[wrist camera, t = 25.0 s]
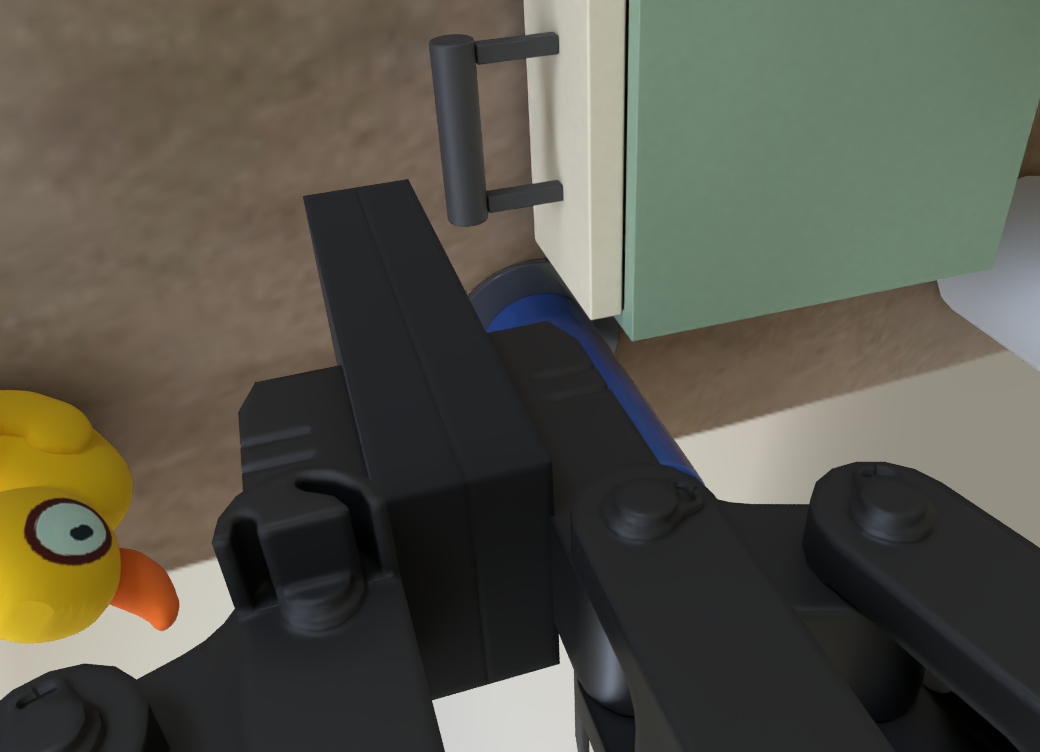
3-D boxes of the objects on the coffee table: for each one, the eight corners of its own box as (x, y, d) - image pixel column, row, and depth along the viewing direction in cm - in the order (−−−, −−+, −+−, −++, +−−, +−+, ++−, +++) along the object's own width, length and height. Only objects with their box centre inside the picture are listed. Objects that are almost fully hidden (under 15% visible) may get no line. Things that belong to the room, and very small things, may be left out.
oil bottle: (475, 304, 38) (598, 552, 26) (591, 283, 39) (762, 511, 27) (485, 402, 41) (598, 666, 28) (592, 380, 42) (746, 626, 29)
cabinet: (556, 240, 38) (632, 342, 31) (544, -127, 30) (641, -101, 23) (860, 187, 40) (993, 269, 34) (921, -161, 33) (1109, -146, 26)
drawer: (436, 258, 35) (475, 343, 30) (395, -89, 28) (437, -59, 23) (828, 189, 39) (928, 255, 33) (878, -135, 32) (1014, -119, 26)
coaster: (456, 427, 41) (457, 432, 41) (438, 276, 37) (439, 280, 37) (616, 393, 43) (619, 398, 43) (618, 244, 38) (621, 248, 38)
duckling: (203, 430, 38) (217, 597, 30) (142, 520, 39) (140, 702, 32) (-93, 319, 32) (-174, 495, 24) (-153, 431, 33) (-248, 632, 25)
